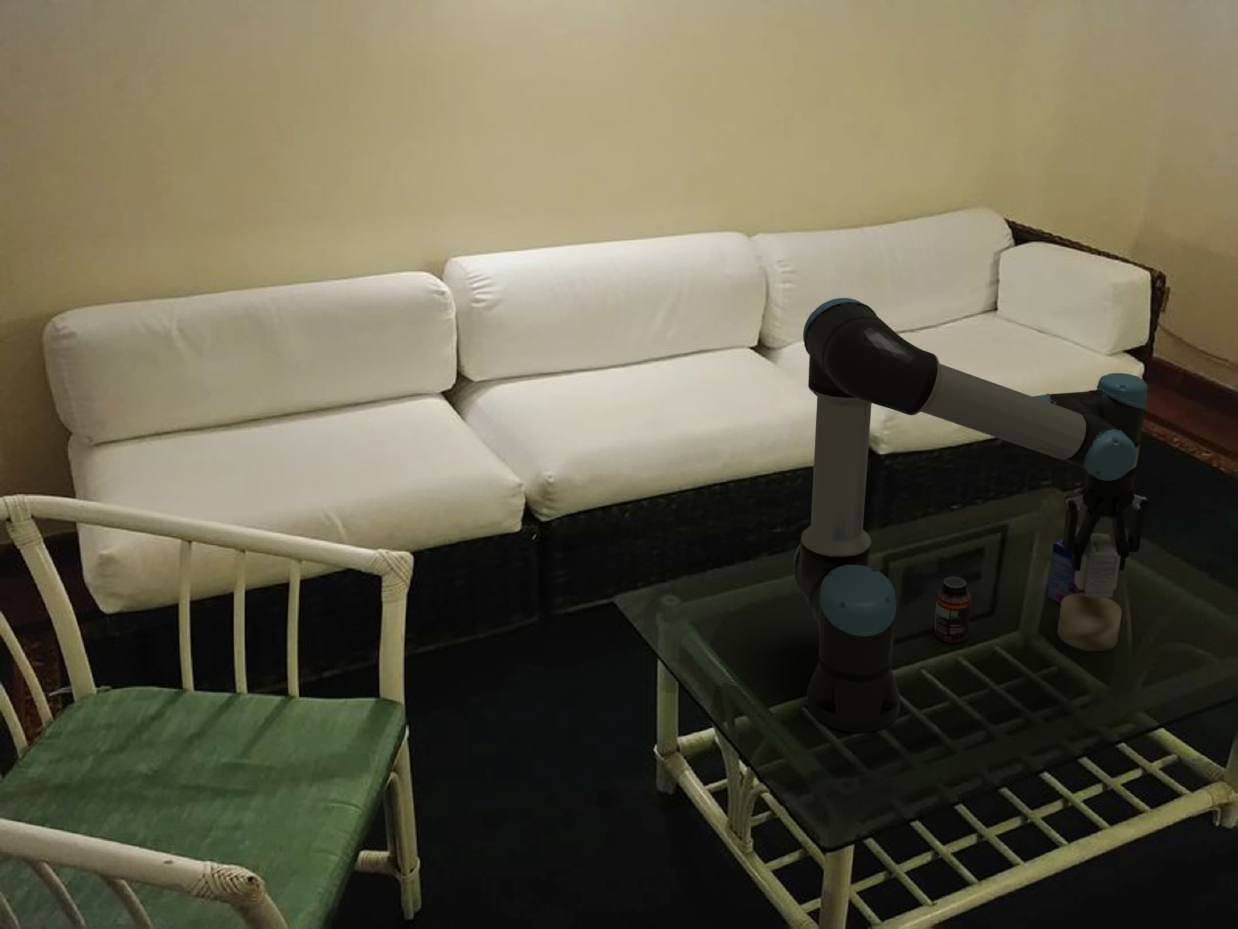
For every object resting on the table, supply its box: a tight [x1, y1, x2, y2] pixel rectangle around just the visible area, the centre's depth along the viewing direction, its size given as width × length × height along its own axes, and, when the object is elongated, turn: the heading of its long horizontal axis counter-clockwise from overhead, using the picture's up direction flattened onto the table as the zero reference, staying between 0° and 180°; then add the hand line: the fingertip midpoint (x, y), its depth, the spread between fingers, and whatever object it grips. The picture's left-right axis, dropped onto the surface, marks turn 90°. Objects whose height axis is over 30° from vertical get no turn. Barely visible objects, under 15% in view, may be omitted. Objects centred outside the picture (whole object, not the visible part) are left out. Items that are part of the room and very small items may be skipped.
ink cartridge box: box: [1046, 535, 1085, 604], centre depth 210 cm, size 10×6×14 cm, turn 38°
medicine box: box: [1083, 532, 1118, 599], centre depth 197 cm, size 8×4×9 cm, turn 169°
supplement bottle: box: [934, 576, 972, 644], centre depth 203 cm, size 6×6×11 cm
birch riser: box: [1057, 593, 1123, 652], centre depth 202 cm, size 10×10×6 cm
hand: (1094, 585), depth 199 cm, fingers closed on medicine box, 5 cm apart
